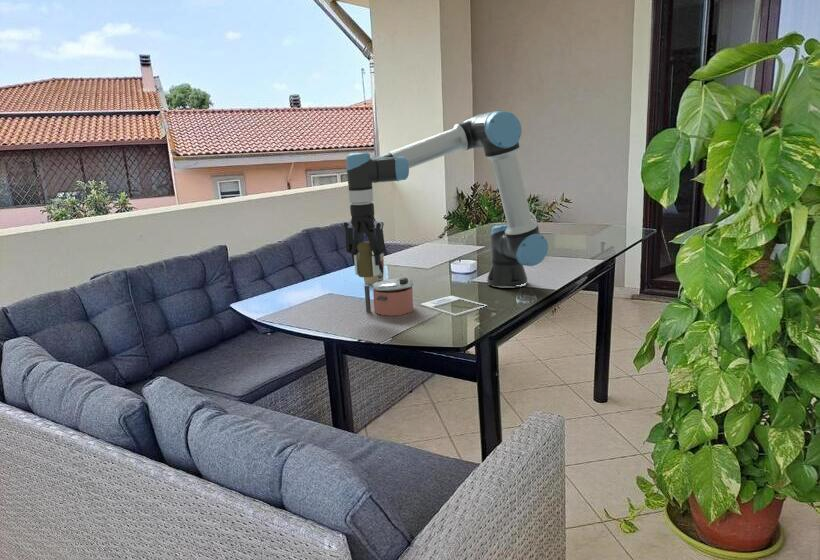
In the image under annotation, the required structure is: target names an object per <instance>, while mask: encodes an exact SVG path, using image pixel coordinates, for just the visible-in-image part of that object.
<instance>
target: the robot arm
mask: <svg viewBox="0 0 820 560" xmlns="http://www.w3.org/2000/svg"><path fill="white" fill-rule="evenodd" d="M521 136H522V125H521V121H520V120H519V118H518V116H516V115H515V114H514V113H512V112H510V111H508V110H500V109H499V110H494V111H488V112H481V113H479V114H476V115H474V116H472V117H470V118H468V119H466V120H464V121H461V122H458V123H456V124H454V125H453V127H452V128H451V129H448V130H446V131H442V132H440V133H438V134H434V135H432V136H429V137H427V138H423V139H421V140H418V141H415V142H412V143H410V144H407V145H404V146H402V147H400V148H396V149H394V150H391V151H389V152H386V153H383V154H380V155H375V156H371V154H370V153H369V152H358V153H357V152H356V153H348V154H347V156H346V158H345V160H346V165H345V166H346V167H345V168H346V169H345V170H346V175H347V187H348V199H349V201H348V202H349V203H350V205H349V210H350V216H351V219H350V220H349V221H345V222H344V223H343V227H344V230H345V248H346V249H345V250H346V253H349V254H351V256H352V257H351V258H352V264H353V265H354V271H355V275H357V276H358V274H359V251H358V249H357V245H358V243H360V242H361V239H362V235H363V233H364V234H365V235H366V237H367V238H368V239H367V240H368V241H369V242H370V245H371V248H372V251H373V254H374V255H373V256H372V266H373V276H376V275H379V274H380V273H379V265H380V264H381V259H380V255H381V254H382V253H383V254H385V252H386V243H385V236H384V229H383V228H384V225H385V224H384V222H383V221H381V222H380V221H376V218H375V205H374V203H373V202H374V194H373V193H374V192H373V191H374V190H373V183H374V184H376V183H387V182H399V181H405V180H407V179H408V178H409V174H410V169H411V168H414V167H416V166H419V165H423V164H425V163H427V162H430V161H433V160H436V159H438V158H441V157H444V156H446V155H449V154H451V153H452V154H453V153H454V152H458V151H462V152H466V151H468V150H471V149H478V148H483V151H484V156H485V158H486V159H489V160H490V161H491V165H492V168H493V172H494V175H495V176H494V177H495V180H496V185H497V188H498V191H499V192H498V193H499V196H500V201H501V204H502V208H503V209H502V210H503V212H504V216H505V220H506V224H500V225H494V226H492V227H491V232H490V238H491V240H490V244H491V245H490V246H491V248H490V249H491V267H490V269H489V273H488V275H487V277H486V279H487V280H486V281H487V283H488V284H490V285H494V286H516V285H521V284H524V283H526V282H527V283H528V276H527V273H526V271H525V266H527V267H534V266H538V265H539V264H540V263H542V262H543V261H544V260H545V258H546V256H547V255H548V252H549V243H548V240H547V238H546V237H545V236H544V235H542V234H541V233H540V228H539V225H538V223H537V222H536V221H534V220H533V218H532V215H531V211H530V205H529V202H528V196H527V193H526V189H525V186H524V185H525V184H524V180H523V176H522V171H521V168H520V163H519V159H518V155H517V153H518V151H519V150H520V148H521V146H520V143H519V141H520V138H521ZM353 229H354V230H353Z"/></svg>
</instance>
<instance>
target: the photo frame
mask: <svg viewBox="0 0 820 560" xmlns="http://www.w3.org/2000/svg"><path fill="white" fill-rule="evenodd" d="M462 300H464V301H463V302H466V301H467V302H466V303H469V302H471V303H470V304H473V303H475V304H474V305H477V304H479V305H478V306H477V307H474V308H471V309H468V310H464V311H461V312H457V313H453V312H451V311H447V310H443V309H439V308H437V307H440V306H445V305H447V304H451V303H455V302H458V301H462ZM480 305H484V306H480ZM419 306H421V307H423V308H428V309H431V310H433V311H436V312H440V313H443V314H447V315H449V316H453V317H457V316H461V315H465V314H468V313H471V312H474V311H478V310H481V309H480V308H482V309H484V308H483V307H485V306H487V307H488V304H485V303H482V302H477V301H473V300H470V299H466V298H462V297H459V296H455V295H449V296H445V297H440V298H438V299H437V298H436V299H434V300H429V301H427V302H422V303H419ZM485 308H486V307H485ZM477 309H478V310H477Z"/></svg>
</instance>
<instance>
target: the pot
mask: <svg viewBox="0 0 820 560" xmlns="http://www.w3.org/2000/svg"><path fill="white" fill-rule="evenodd" d="M383 280H384V278H383V279H379V281H383ZM372 291H373V292H372V295H373V296H372V297H373V311H374V313H375V312H376V313H375V314H377V313H378V314H377V315H379V314H381V315H380V316H384V315H390V316H389V317H392V316H391V315H398V316H402V314H403V315H407V314H406V313H408V314H410V313H411V312H413V311H414V298H413V285H412V286H411V287H408V288H405V289H401V290H394V291H377V290H374V289H373V288H372ZM370 295H371V294H370V284H366V285H364V297H365V299H364V300H365V311H370V312H371V311H372V309H371V296H370ZM409 312H410V313H409Z"/></svg>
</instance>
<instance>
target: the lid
mask: <svg viewBox="0 0 820 560" xmlns="http://www.w3.org/2000/svg"><path fill="white" fill-rule="evenodd" d="M411 286H412V287H413V286H414V280H413V279H412V278H408V277H400V278H398V277H397V278H389V279H383V281H379V282H376V283H374V284H372V290H373V289H374V290H377V291H394V290H401V289H405V288H408V287H411Z"/></svg>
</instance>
